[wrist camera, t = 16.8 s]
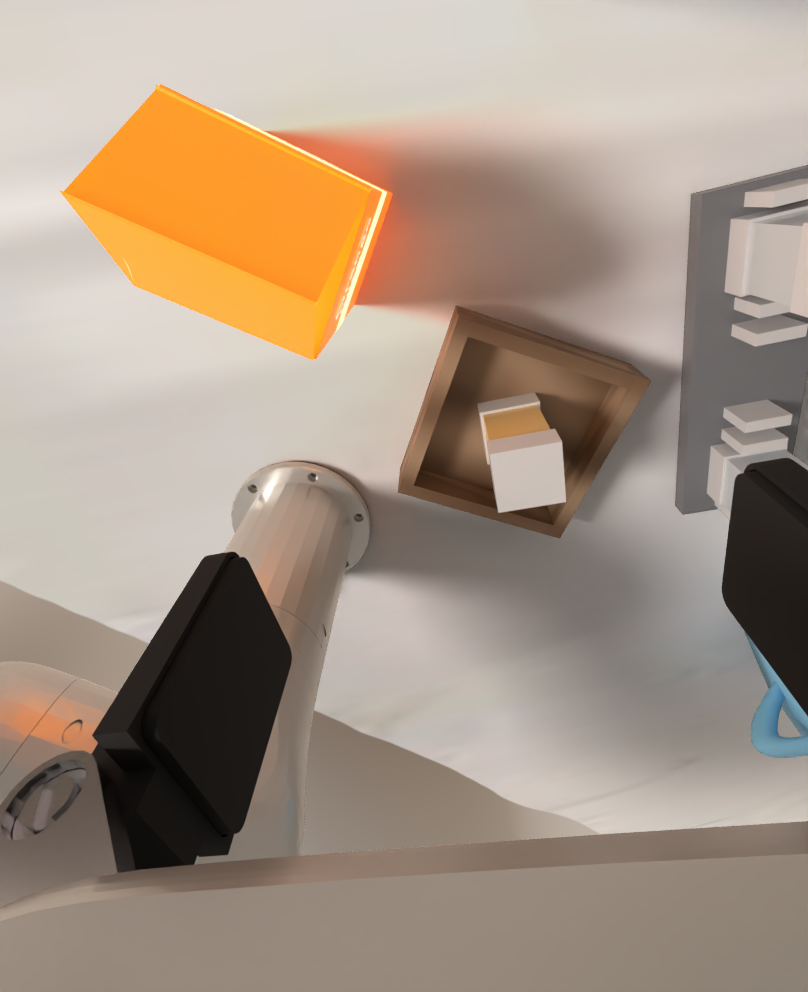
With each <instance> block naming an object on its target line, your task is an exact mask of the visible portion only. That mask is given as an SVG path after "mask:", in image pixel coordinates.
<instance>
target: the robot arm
mask: <svg viewBox="0 0 808 992" xmlns="http://www.w3.org/2000/svg"><path fill="white" fill-rule="evenodd" d="M313 473H314V474H316V475H314V474H313ZM231 516H232V526H233V529H234V532H235V534H234V536H233V538H232V540H231V541H230V543H229V545H228V546H227V548H226V550H225V552H224V553H220V554H215V555H209V556H206V557H204V558H203V559H202V561H201V562H200V564H199V566H198V567H197V569H196V570H195V572H194V574H193V575H192V577H191V578H190V580H189V582H188V583H187V585H186V586H185V588H184V589H183V591H182V593H181V594H180V596H179V597H178V599H177V601H176V602H175V604H174V605H173V607H172V609H171V610H170V612H169V613H168V615H167V617H166V618H165V620H164V621H163V623H162V624H161V626H160V628H159V629H158V631H157V632H156V634H155V636H154V637H153V639H152V640H151V642H150V644H149V645H148V647H147V649H146V650H145V652H144V653H143V655H142V656H141V658H140V660H139V661H138V663H137V664H136V666H135V667H134V669H133V671H132V672H131V674H130V676H129V677H128V679H127V680H126V682H125V683H124V685H123V687H122V688H121V690H120V691H119V693H118V692H116V691H113V690H110V689H108V688H105V687H103V686H100V685H97V684H95V683H92V682H90V681H87V680H84V679H82V678H78V677H75V676H72V675H69V674H67V673H65V672H61V671H59V670H55V669H52V668H49V667H46V666H43V665H39V664H34V663H28V662H18V661H13V662H1V663H0V992H808V821H806V822H791V823H775V824H759V825H743V826H727V827H712V828H696V829H680V830H664V831H649V832H633V833H618V834H603V835H588V836H575V837H574V836H573V837H561V838H560V837H559V838H545V839H529V840H514V841H500V842H486V843H471V844H457V845H442V846H428V847H413V848H400V849H386V850H372V851H359V852H345V853H332V854H319V855H305V856H302V849H303V838H304V825H305V824H304V823H305V795H306V794H305V793H306V767H307V754H308V744H309V736H310V730H311V723H312V717H313V711H314V706H315V701H316V696H317V691H318V687H319V682H320V677H321V673H322V669H323V665H324V660H325V656H326V651H327V647H328V642H329V638H330V633H331V629H332V624H333V620H334V616H335V611H336V607H337V602H338V598H339V593H340V589H341V584H342V580H343V576H344V572H345V571H347V570H349V569H350V568H351V567H352V566H354V565H355V564H356V563H357V562H358V561H359V559H360V558H361V557H362V556H363V554H364V552H365V550H366V547H367V545H368V541H369V536H370V526H371V524H370V517H369V512H368V510H367V507H366V504H365V502H364V500H363V499H362V497H361V496H360V494H359V492H358V491H357V490H356V489H355V488H354V487H353V486H352V485H351V484H350V483H349V482H348V481H347V480H345V479H344V478H343V477H341V476H340V475H339V474H337V473H335V472H333V471H331V470H329V469H327V468H324V467H321V466H318V465H315V464H311V463H305V462H282V463H277V464H272V465H270V466H267V467H265V468H262V469H260V470H259V471H257V472H256V473H254V474H253V475H251V476H250V477H249V478H248V479H247V480H246V482H245V483H244V484H243V485H242V487H241V488H240V490H239V491H238V493H237V495H236V497H235V500H234V502H233V506H232V513H231ZM722 594H723V598H724V601H725V604H726V606H727V607H728V609H729V610H730V612H731V613H732V614H733V616H734V617H735V618H736V620H737V621H738V622H739V624H740V625H741V626H742V628H743V629H744V631H745V632H746V633H747V635H748V636H749V637H750V639H751V640H752V641H753V643H754V644H755V646H756V647H757V648H758V650H759V651H760V652H761V654H762V655H763V656H764V658H765V659H766V660H767V662H768V663H769V665H770V666H771V667H772V669H773V670H774V671H775V673H776V674H777V675H778V677H779V678H780V679H781V681H782V682H783V684H784V685H785V686H786V688H787V689H788V690H789V692H790V693H791V694H792V696H793V697H794V698H795V700H796V701H797V703H798V704H799V705H800V707H801V708H802V709H803V711H804V712H805V713H806V715H807V716H808V470H807V469H805V468H804V467H802V466H801V465H799V464H798V463H797V462H795V461H794V460H792V459H790V458H780V459H774V460H768V461H762V462H757V463H751V464H749V465H747V467H746V468H745V470H744V473H740V474H738V475H737V476H736V478H735V482H734V489H733V498H732V506H731V515H730V523H729V531H728V540H727V548H726V557H725V565H724V574H723V582H722Z"/></svg>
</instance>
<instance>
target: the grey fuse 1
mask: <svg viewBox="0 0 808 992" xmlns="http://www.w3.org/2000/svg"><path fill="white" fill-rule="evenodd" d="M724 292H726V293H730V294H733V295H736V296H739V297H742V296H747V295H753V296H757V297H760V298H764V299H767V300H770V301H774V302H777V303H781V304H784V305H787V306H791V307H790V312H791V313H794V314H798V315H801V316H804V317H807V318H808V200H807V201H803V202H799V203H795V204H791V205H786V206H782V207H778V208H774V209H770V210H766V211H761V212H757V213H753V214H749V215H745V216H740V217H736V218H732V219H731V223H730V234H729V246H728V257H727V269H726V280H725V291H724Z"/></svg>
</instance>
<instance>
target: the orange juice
mask: <svg viewBox="0 0 808 992" xmlns="http://www.w3.org/2000/svg"><path fill="white" fill-rule="evenodd" d="M59 191H60V190H59ZM60 192H61V193H62V194H63V196H64V197H65V198H66V200H67V201H68V202H69V203H70V205H71V206H72V207H73V208H74V210H75V211H76V212H77V214H78V215H79V216H80V217H81V219H82V220H83V221H84V222H85V224H86V225H87V226H88V228H89V229H90V230H91V231H92V233H93V234H94V235H95V236H96V238H97V239H98V240H99V242H100V243H101V244H102V245H103V247H104V248H105V249H106V250H107V252H108V253H109V254H110V256H111V257H112V258H113V259H114V261H115V262H116V263H117V264H118V266H119V267H120V268H121V270H122V271H123V272H124V273H125V275H126V276H127V277H128V278H129V280H130V281H131V282H132V284H133V285H134V286H136V287H138V288H141V289H143V290H146V291H148V292H150V293H153V294H155V295H158V296H160V297H162V298H165V299H167V300H170V301H172V302H174V303H177V304H179V305H182V306H184V307H186V308H189V309H191V310H194V311H196V312H198V313H201V314H203V315H206V316H208V317H210V318H213V319H215V320H218V321H220V322H222V323H225V324H227V325H230V326H232V327H234V328H237V329H239V330H242V331H244V332H246V333H249V334H251V335H254V336H256V337H258V338H261V339H263V340H266V341H268V342H270V343H273V344H275V345H278V346H280V347H282V348H285V349H287V350H289V351H292V352H294V353H297V354H299V355H301V356H304V357H306V358H309V359H311V360H313V361H314V359H316V358H317V357H318V355H319V354H320V352H321V351H322V350H323V348H324V347H325V345H326V344H327V343H328V341H329V340H330V338H331V337H332V335H333V334H334V333H335V332H336V331H337V330H338V328H339V327H340V326H341V324H342V323H343V320H344V318H345V317H346V316H347V314H348V313H349V311H350V310H351V308H352V307H353V306H354V304H355V301H356V298H357V295H358V292H359V290H360V287H361V284H362V281H363V278H364V275H365V272H366V269H367V267H368V264H369V261H370V258H371V255H372V252H373V249H374V246H375V244H376V241H377V238H378V235H379V232H380V229H381V226H382V223H383V221H384V218H385V215H386V212H387V209H388V206H389V203H390V200H391V198H392V195H393V194H392V193H390V192H388V191H386V190H384V189H382V188H380V187H378V186H376V185H374V184H372V183H370V182H368V181H366V180H364V179H362V178H360V177H358V176H356V175H353V174H351V173H349V172H347V171H345V170H343V169H341V168H340V167H337V166H335V165H333V164H331V163H329V162H327V161H325V160H323V159H321V158H319V157H317V156H315V155H313V154H311V153H309V152H306V151H304V150H302V149H300V148H298V147H296V146H294V145H292V144H290V143H288V142H286V141H284V140H282V139H280V138H278V137H276V136H274V135H272V134H270V133H268V132H266V131H263V130H261V129H259V128H256V127H254V126H251V125H250V124H248V123H245V122H244V121H241V120H239V119H236V118H234V116H233V117H232V115H231V116H230V115H228V114H225V113H223V112H221V111H218V110H216V109H211V108H209V107H207V106H204V105H202V104H200V103H198V102H196V101H194V100H192V99H190V98H188V97H186V96H183V95H181V94H179V93H177V92H175V91H173V90H171V89H169V88H167V87H165V86H163V85H160V86H157V85H156V88H155V91H154V92H153V93H152V95H151V96H150V97H149V98H148V99H147V100H146V101H145V102H144V103H143V105H142V106H141V107H140V108H139V109H138V110H137V111H136V112H135V113H134V114H133V116H132V117H131V118H130V119H129V120H128V121H127V122H126V123H125V124H124V125H123V127H122V128H121V129H120V130H119V131H118V132H117V133H116V134H115V135H114V137H113V138H112V139H111V140H110V141H109V142H108V143H107V144H106V145H105V146H104V148H103V149H102V150H101V151H100V152H99V153H98V154H97V155H96V156H95V157H94V159H93V160H92V161H91V162H90V163H89V164H88V165H87V166H86V167H85V169H84V170H83V171H82V172H81V173H80V174H79V175H78V176H77V177H76V178H75V180H74V181H73V182H72V183H71V184H70V185H69V186H68V187H67V188H66V189H65V191H64V192H62V191H60Z"/></svg>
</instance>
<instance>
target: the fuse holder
mask: <svg viewBox="0 0 808 992" xmlns="http://www.w3.org/2000/svg"><path fill="white" fill-rule="evenodd" d="M807 200H808V165H806V166H801V167H797V168H793V169H789V170H785V171H781V172H777V173H773V174H769V175H765V176H761V177H757V178H753V179H749V180H745V181H741V182H737V183H733V184H729V185H725V186H721V187H717V188H713V189H709V190H705V191H701V192H697V193H693V194H691V209H690V228H689V248H688V267H687V286H686V306H685V325H684V345H683V364H682V383H681V403H680V422H679V442H678V461H677V480H676V500H675V506H676V507H677V508H678V509H679V511H680V512H681V513H682V514H683V515H684V514H690V513H696V512H703V511H709V510H715V509H719V510H720V511H721V512H722V513H723V514H724V515H725V516H726V518H727V519H728V520H729V521H730V515H731V512H730V511H729V510H728V509H727V508H726V507H725V506H724V505H721V506H719V505H718V504H717V503H716V502H715V501H714V500H713V499H712V498H711V497H710V496H709V495H708V494H707V485H708V473H709V462H710V451H711V446H713V445H719V444H725V443H727V444H728V445H730V446H731V447H732V448H733V449H735V450H736V451H737V452H738V453H739V454H741V455H748V454H753V453H759V452H765V451H771V450H777V449H782V448H787V451H788V452H789V453H791V454H792V455H793V450H794V445H795V439H796V434H797V428H798V423H799V417H800V412H801V406H802V400H803V395H804V389H805V384H806V378H807V373H808V318H807V317H804V316H801V315H798V314H794V313H791V312H790V307H791V306H787V305H784V304H781V303H777V302H774V301H770V300H767V299H764V298H760V297H757V296H753V295H747V296H742V297H739V296H736V295H733V294H730V293H726V292H724V291H725V280H726V269H727V257H728V246H729V234H730V223H731V219H732V218H736V217H740V216H745V215H749V214H753V213H757V212H761V211H766V210H770V209H774V208H778V207H782V206H786V205H791V204H795V203H799V202H803V201H807ZM787 446H788V447H787Z"/></svg>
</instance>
